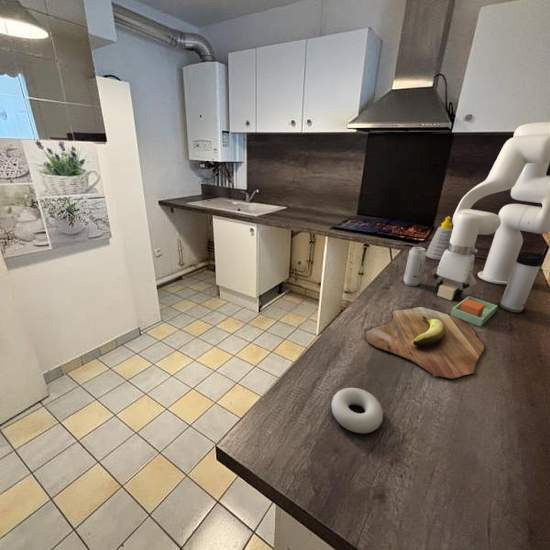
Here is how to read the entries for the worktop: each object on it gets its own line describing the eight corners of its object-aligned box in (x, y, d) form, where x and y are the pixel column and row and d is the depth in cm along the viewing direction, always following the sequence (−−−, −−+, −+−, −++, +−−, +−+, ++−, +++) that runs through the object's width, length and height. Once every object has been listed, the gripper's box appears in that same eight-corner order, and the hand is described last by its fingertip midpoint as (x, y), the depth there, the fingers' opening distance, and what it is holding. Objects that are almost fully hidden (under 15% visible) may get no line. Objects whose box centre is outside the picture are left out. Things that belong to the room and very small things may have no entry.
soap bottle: (452, 255, 153) (463, 217, 145) (451, 262, 143) (462, 221, 135) (426, 251, 159) (435, 214, 151) (423, 257, 149) (433, 218, 141)
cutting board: (465, 393, 64) (470, 380, 63) (354, 341, 81) (356, 330, 80) (493, 330, 88) (497, 319, 86) (402, 300, 105) (404, 290, 103)
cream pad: (443, 291, 112) (445, 282, 111) (457, 296, 109) (459, 286, 107) (436, 295, 109) (439, 285, 107) (451, 300, 105) (453, 290, 104)
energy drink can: (414, 287, 115) (423, 251, 109) (400, 283, 119) (407, 248, 113) (421, 283, 118) (429, 248, 113) (407, 279, 123) (414, 245, 117)
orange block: (464, 309, 98) (468, 298, 97) (481, 315, 95) (485, 304, 93) (458, 314, 95) (461, 303, 93) (475, 321, 92) (479, 309, 90)
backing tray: (466, 302, 104) (468, 295, 103) (495, 312, 98) (497, 305, 97) (450, 315, 96) (452, 308, 95) (480, 326, 90) (483, 319, 89)
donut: (369, 395, 63) (325, 396, 62) (372, 383, 62) (326, 384, 61) (390, 436, 54) (338, 439, 53) (394, 423, 53) (340, 425, 52)
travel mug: (527, 313, 98) (550, 257, 90) (505, 311, 99) (526, 255, 91) (516, 305, 103) (537, 251, 95) (496, 303, 104) (515, 249, 97)
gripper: (492, 253, 98) (476, 300, 105) (439, 241, 110) (428, 284, 117) (484, 257, 93) (469, 307, 100) (430, 245, 106) (419, 289, 113)
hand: (447, 294), depth 109 cm, fingers open, 5 cm apart
